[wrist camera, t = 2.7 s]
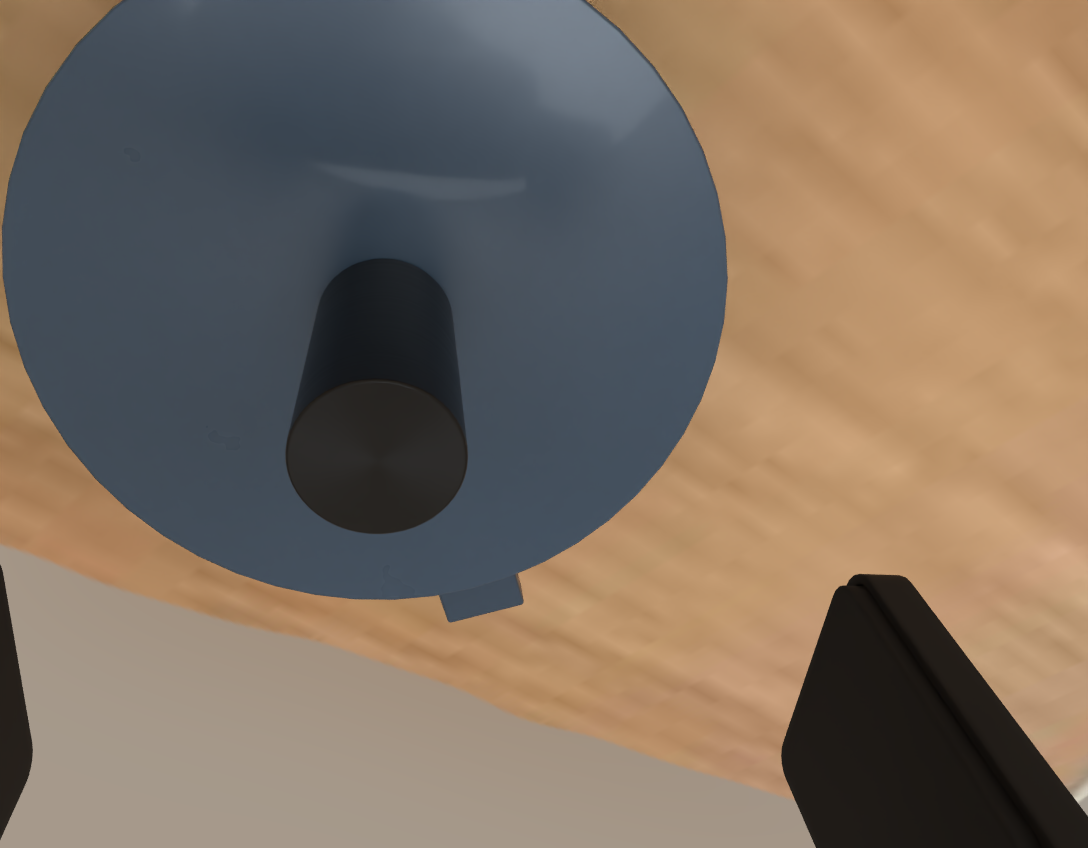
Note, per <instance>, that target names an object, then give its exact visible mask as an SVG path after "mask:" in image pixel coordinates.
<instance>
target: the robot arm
mask: <svg viewBox="0 0 1088 848" xmlns="http://www.w3.org/2000/svg"><path fill="white" fill-rule="evenodd" d="M32 753H33V749H32V739H31V734H30V728H29V722H28V716H27V710H26V705H25V699H24V693H23V687H22V682H21V675H20V669H19V664H18V658H17V652H16V646H15V640H14V634H13V629H12V623H11V617H10V611H9V605H8V599H7V594H6V588H5V582H4V576H3V571H2V568H1V565H0V839H1V837H2V835H3V832H4V830H5V828H6V826H7V824H8V821H9V819H10V817H11V815H12V812H13V810H14V808H15V806H16V804H17V802H18V799H19V797H20V795H21V793H22V790H23V788H24V786H25V784H26V781H27V779H28V776H29V772H30V768H31V763H32ZM781 757H782V766H783V772H784V774H785V777H786V780H787V782H788V784H789V787H790V789H791V791H792V794H793V796H794V798H795V801H796V803H797V805H798V807H799V809H800V812H801V814H802V816H803V819H804V821H805V824H806V826H807V828H808V830H809V833H810V835H811V837H812V839H813V842H814V844H815V846H816V848H1088V816H1087V815H1086V813H1085V812H1084V811H1083V809H1082V808H1081V807H1080V805H1079V804H1078V803H1077V801H1076V800H1075V799H1074V798H1073V796H1072V795H1071V794H1070V792H1069V791H1068V790H1067V788H1066V787H1065V786H1064V784H1063V783H1062V782H1061V780H1060V779H1059V778H1058V776H1057V775H1056V774H1055V772H1054V771H1053V770H1052V768H1051V767H1050V766H1049V764H1048V763H1047V762H1046V760H1045V759H1044V758H1043V756H1042V755H1041V754H1040V753H1039V751H1038V750H1037V749H1036V747H1035V746H1034V745H1033V743H1032V742H1031V741H1030V739H1029V738H1028V737H1027V735H1026V734H1025V733H1024V731H1023V730H1022V729H1021V727H1020V726H1019V725H1018V723H1017V722H1016V721H1015V719H1014V718H1013V717H1012V715H1011V714H1010V713H1009V712H1008V710H1007V709H1006V708H1005V706H1004V705H1003V704H1002V702H1001V701H1000V700H999V698H998V697H997V696H996V694H995V693H994V692H993V690H992V689H991V688H990V686H989V685H988V684H987V682H986V681H985V680H984V678H983V677H982V676H981V674H980V673H979V672H978V670H977V669H976V668H975V667H974V665H973V664H972V663H971V661H970V660H969V659H968V657H967V656H966V655H965V653H964V652H963V651H962V649H961V648H960V647H959V645H958V644H957V643H956V641H955V640H954V639H953V637H952V636H951V635H950V633H949V632H948V631H947V629H946V628H945V627H944V625H943V624H942V623H941V622H940V620H939V619H938V618H937V616H936V615H935V614H934V612H933V611H932V610H931V608H930V607H929V606H928V604H927V603H926V602H925V600H924V599H923V598H922V596H921V595H920V594H919V592H918V591H917V590H916V588H915V587H914V586H913V584H912V583H911V582H910V581H909V580H908V579H907V578H906V577H903V576H900V575H872V574H858V575H854V576H853V577H852V578H851V579H850V580H849V582H848V584H847V586H840V587H839V588H838V589H837V590H836V591H835V593H834V595H833V598H832V601H831V604H830V607H829V610H828V613H827V616H826V619H825V621H824V624H823V627H822V630H821V633H820V636H819V639H818V642H817V645H816V648H815V651H814V654H813V657H812V660H811V663H810V665H809V668H808V671H807V674H806V677H805V680H804V683H803V686H802V689H801V692H800V695H799V698H798V701H797V704H796V707H795V710H794V712H793V715H792V718H791V721H790V724H789V727H788V730H787V733H786V736H785V739H784V742H783V746H782V755H781Z"/></svg>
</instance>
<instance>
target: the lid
mask: <svg viewBox="0 0 1088 848" xmlns="http://www.w3.org/2000/svg"><path fill="white" fill-rule="evenodd" d="M2 260H3V280H4V287H5V293H6V299H7V305H8V311H9V317H10V323H11V326H12V329H13V333H14V336H15V339H16V342H17V345H18V348H19V352H20V355H21V358H22V361H23V364H24V367H25V369H26V372H27V374H28V376H29V378H30V380H31V382H32V384H33V386H34V389H35V391H36V393H37V395H38V397H39V399H40V401H41V403H42V406H43V408H44V409H45V411H46V412H47V414H48V415H49V417H50V419H51V420H52V422H53V423H54V425H55V426H56V428H57V429H58V431H59V433H60V434H61V436H62V437H63V439H64V440H65V442H66V444H67V445H68V446H69V448H70V449H71V450H72V451H73V452H74V454H75V455H76V456H77V457H78V458H79V460H80V461H81V462H82V463H83V464H84V466H85V467H86V468H87V469H88V470H89V472H90V473H91V474H92V475H93V476H94V478H95V479H96V480H97V481H98V482H99V483H100V484H101V485H103V486H104V487H105V488H106V489H107V490H108V491H109V492H110V493H111V494H112V495H113V496H114V497H115V498H116V499H117V500H118V501H119V502H121V503H122V504H123V505H124V506H125V507H126V508H127V509H128V510H129V511H131V512H132V513H133V514H135V515H136V516H137V517H139V518H140V519H141V520H143V521H144V522H145V523H147V524H148V525H149V526H151V527H152V528H154V529H155V530H156V531H158V532H159V533H160V534H162V535H163V536H165V537H167V538H168V539H170V540H172V541H173V542H175V543H177V544H178V545H180V546H182V547H184V548H185V549H187V550H189V551H190V552H192V553H194V554H196V555H197V556H199V557H201V558H204V559H206V560H208V561H210V562H212V563H215V564H217V565H219V566H221V567H224V568H226V569H228V570H230V571H232V572H235V573H237V574H240V575H243V576H246V577H249V578H252V579H255V580H258V581H261V582H264V583H267V584H271V585H274V586H277V587H282V588H286V589H291V590H296V591H300V592H305V593H309V594H314V595H322V596H331V597H340V598H349V599H387V600H396V599H406V598H417V597H428V596H436V595H441V594H446V593H451V592H456V591H461V590H466V589H471V588H475V587H478V586H481V585H484V584H488V583H491V582H494V581H497V580H501V579H504V578H507V577H510V576H512V575H515V574H517V573H519V572H522V571H524V570H526V569H528V568H531V567H533V566H535V565H538V564H540V563H542V562H545V561H546V560H548V559H550V558H552V557H553V556H555V555H557V554H559V553H561V552H562V551H564V550H566V549H568V548H569V547H571V546H573V545H575V544H577V543H578V542H579V541H581V540H582V539H584V538H585V537H586V536H588V535H589V534H591V533H592V532H593V531H595V530H596V529H598V528H599V527H600V526H602V525H603V524H604V523H606V522H607V521H609V520H610V519H611V518H612V517H613V516H614V515H615V514H616V513H617V512H618V511H620V510H621V509H622V508H623V507H624V506H625V505H626V504H627V503H628V502H629V501H631V500H632V499H633V498H634V497H635V496H636V495H637V494H638V493H639V492H640V491H641V489H642V488H643V487H644V486H645V485H646V484H647V483H648V481H649V480H650V479H651V478H652V477H653V476H654V474H655V473H656V472H657V471H658V470H659V469H660V468H661V466H662V465H663V464H664V462H665V461H666V459H667V458H668V456H669V455H670V453H671V452H672V450H673V449H674V447H675V446H676V444H677V443H678V442H679V440H680V439H681V437H682V436H683V434H684V432H685V430H686V428H687V426H688V425H689V423H690V421H691V419H692V417H693V415H694V413H695V411H696V409H697V407H698V405H699V403H700V401H701V399H702V396H703V394H704V391H705V388H706V385H707V383H708V380H709V377H710V374H711V372H712V369H713V366H714V363H715V360H716V355H717V351H718V346H719V342H720V337H721V333H722V328H723V324H724V316H725V305H726V293H727V281H728V276H727V256H726V236H725V231H724V226H723V220H722V215H721V210H720V204H719V199H718V194H717V190H716V187H715V184H714V181H713V178H712V175H711V172H710V169H709V166H708V163H707V160H706V157H705V154H704V151H703V149H702V147H701V145H700V143H699V141H698V139H697V137H696V135H695V133H694V131H693V129H692V127H691V125H690V123H689V121H688V119H687V117H686V115H685V113H684V111H683V109H682V107H681V105H680V104H679V102H678V101H677V99H676V98H675V96H674V95H673V93H672V92H671V91H670V89H669V88H668V86H667V85H666V83H665V82H664V80H663V79H662V77H661V76H660V74H659V73H658V72H657V70H656V69H655V67H654V66H653V65H652V64H651V63H650V61H649V60H648V59H647V58H646V57H645V56H644V55H643V54H642V53H641V52H640V50H639V49H638V48H637V47H636V46H635V45H634V44H633V43H632V42H631V41H630V39H629V38H628V37H627V36H626V35H625V34H624V33H623V32H622V31H621V30H620V29H619V28H618V27H617V26H616V25H615V24H613V23H612V22H611V21H610V20H609V19H607V18H606V17H605V16H604V15H603V14H601V13H600V12H599V11H598V10H597V9H595V8H594V7H593V6H592V5H591V4H589V3H588V2H587V1H586V0H122V1H121V2H120V3H118V4H117V5H115V6H114V7H113V8H112V9H111V10H110V11H109V12H108V13H107V14H106V15H105V16H104V17H103V18H102V19H101V20H100V21H99V22H98V23H97V24H96V25H95V26H94V27H93V28H92V29H91V30H90V31H89V32H88V33H87V34H86V35H85V36H84V37H83V38H82V39H81V40H80V41H79V42H78V43H77V44H76V45H75V47H74V48H73V50H72V51H71V52H70V54H69V55H68V57H67V58H66V59H65V61H64V62H63V64H62V65H61V66H60V68H59V69H58V71H57V72H56V73H55V75H54V76H53V78H52V79H51V80H50V82H49V83H48V85H47V86H46V88H45V90H44V92H43V94H42V96H41V98H40V100H39V102H38V104H37V106H36V108H35V110H34V112H33V114H32V116H31V118H30V120H29V122H28V124H27V126H26V128H25V130H24V132H23V135H22V139H21V142H20V145H19V148H18V152H17V155H16V158H15V161H14V165H13V168H12V171H11V174H10V178H9V182H8V189H7V196H6V204H5V211H4V218H3V225H2Z"/></svg>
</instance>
